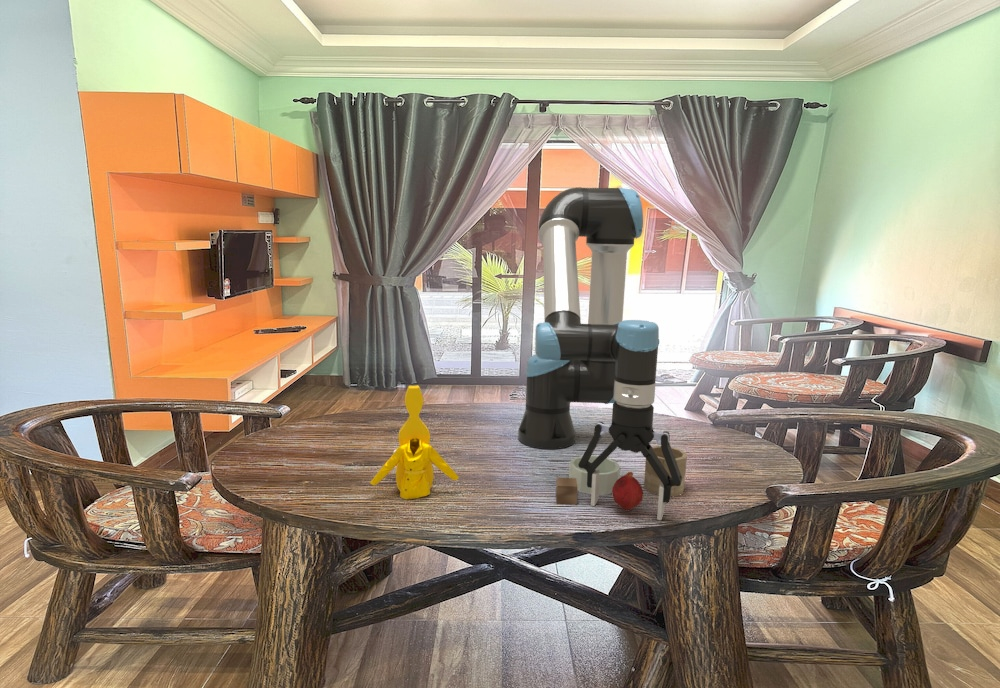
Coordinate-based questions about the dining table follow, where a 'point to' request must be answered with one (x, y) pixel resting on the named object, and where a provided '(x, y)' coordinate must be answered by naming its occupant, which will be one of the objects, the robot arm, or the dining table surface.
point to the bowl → (606, 475)
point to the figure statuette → (414, 453)
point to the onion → (627, 492)
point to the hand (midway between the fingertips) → (626, 509)
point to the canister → (653, 480)
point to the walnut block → (566, 491)
